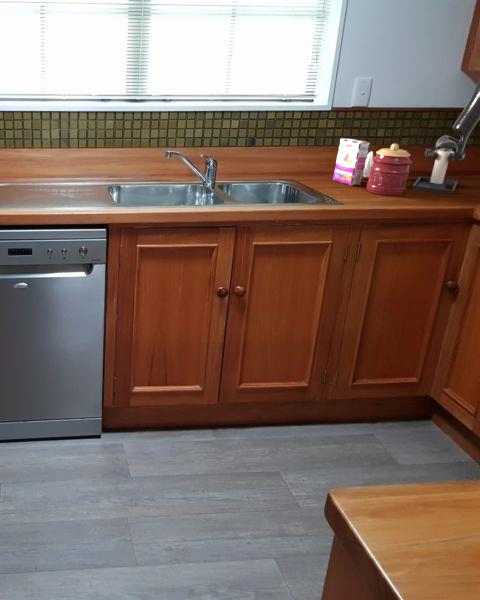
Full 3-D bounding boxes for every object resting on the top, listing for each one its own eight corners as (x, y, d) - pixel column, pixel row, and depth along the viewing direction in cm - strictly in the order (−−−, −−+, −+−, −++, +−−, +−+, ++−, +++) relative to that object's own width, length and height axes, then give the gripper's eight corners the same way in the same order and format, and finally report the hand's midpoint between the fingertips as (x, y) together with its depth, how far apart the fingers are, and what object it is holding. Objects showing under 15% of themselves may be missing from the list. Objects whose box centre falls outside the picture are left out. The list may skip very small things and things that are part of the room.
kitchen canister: (368, 186, 233) (378, 139, 226) (405, 191, 227) (416, 143, 220) (363, 193, 222) (373, 143, 216) (402, 198, 216) (414, 147, 210)
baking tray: (456, 185, 239) (458, 181, 239) (452, 195, 223) (453, 190, 222) (418, 180, 246) (419, 176, 245) (411, 190, 229) (412, 185, 229)
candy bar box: (361, 185, 234) (371, 142, 228) (351, 186, 233) (360, 142, 226) (342, 179, 244) (350, 137, 237) (331, 180, 242) (340, 138, 236)
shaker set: (361, 180, 242) (367, 152, 238) (353, 178, 246) (359, 151, 242) (385, 179, 246) (391, 152, 242) (377, 177, 250) (383, 150, 245)
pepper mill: (443, 182, 234) (452, 147, 229) (442, 184, 231) (451, 149, 225) (430, 180, 236) (439, 146, 231) (429, 182, 233) (438, 147, 228)
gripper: (428, 140, 243) (423, 145, 229) (469, 143, 235) (467, 149, 222) (423, 158, 246) (418, 164, 232) (464, 163, 238) (461, 169, 225)
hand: (442, 157), depth 227 cm, fingers closed on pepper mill, 4 cm apart
